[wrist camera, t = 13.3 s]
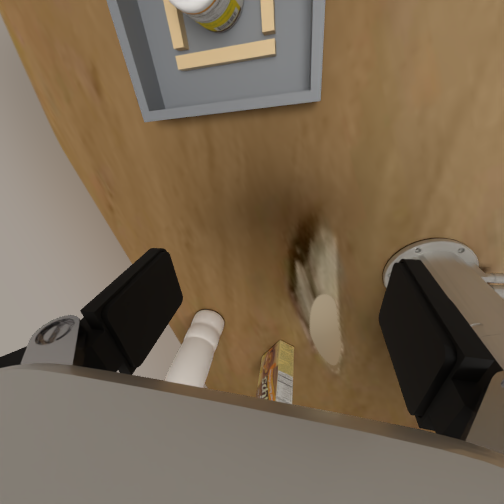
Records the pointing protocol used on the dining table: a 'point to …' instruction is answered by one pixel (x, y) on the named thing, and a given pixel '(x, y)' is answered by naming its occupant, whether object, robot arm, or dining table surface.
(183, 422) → the robot arm
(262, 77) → the walled box
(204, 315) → the water bottle
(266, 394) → the candy box
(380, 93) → the dining table surface
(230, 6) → the supplement bottle
